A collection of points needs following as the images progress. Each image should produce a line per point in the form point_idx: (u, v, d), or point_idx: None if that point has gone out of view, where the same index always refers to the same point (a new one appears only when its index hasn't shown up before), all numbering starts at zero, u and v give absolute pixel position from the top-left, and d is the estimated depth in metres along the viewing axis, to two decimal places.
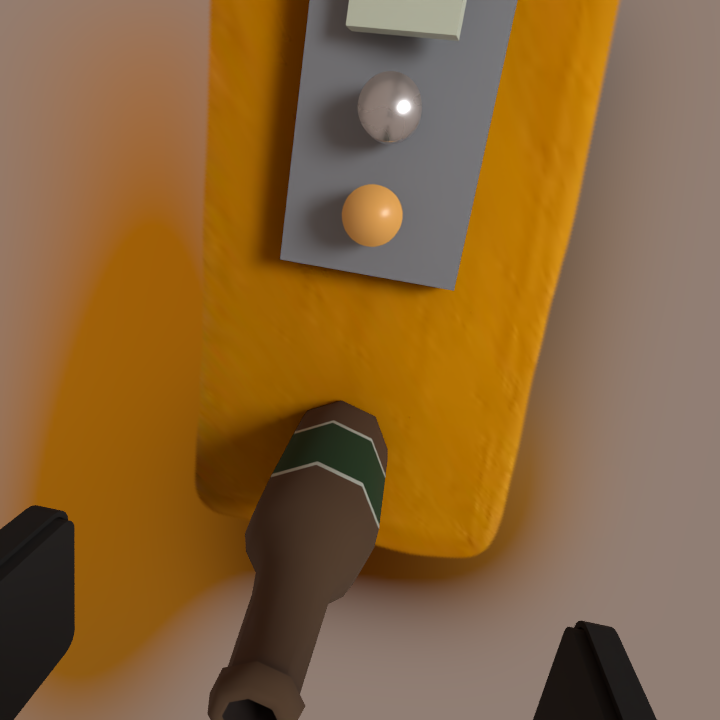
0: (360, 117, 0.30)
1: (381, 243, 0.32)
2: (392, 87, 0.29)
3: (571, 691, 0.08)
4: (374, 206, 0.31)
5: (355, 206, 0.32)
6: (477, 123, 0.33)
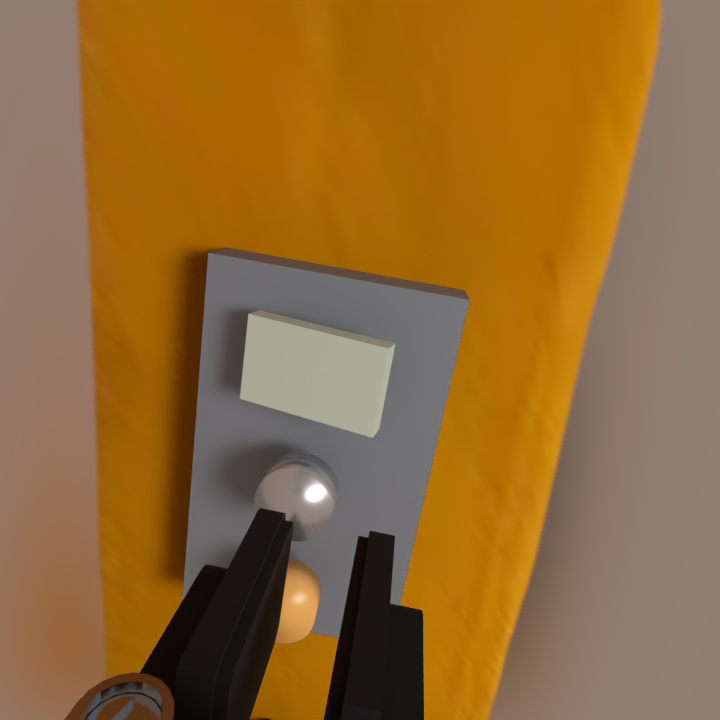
0: None
1: (291, 641, 0.26)
2: (295, 487, 0.23)
3: None
4: None
5: None
6: (411, 486, 0.26)
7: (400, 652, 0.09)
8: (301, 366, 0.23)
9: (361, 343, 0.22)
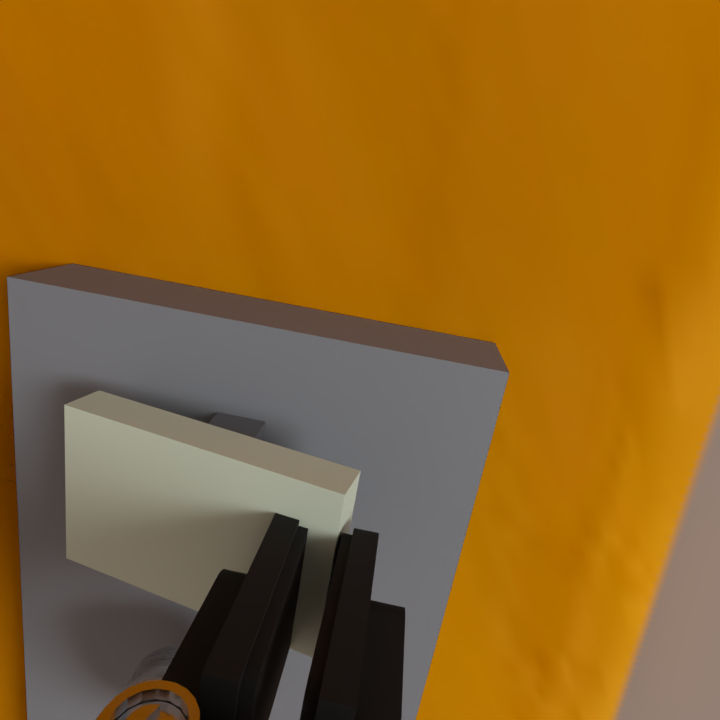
0: None
1: None
2: None
3: None
4: None
5: None
6: None
7: (381, 649, 0.09)
8: (171, 512, 0.11)
9: (286, 479, 0.10)
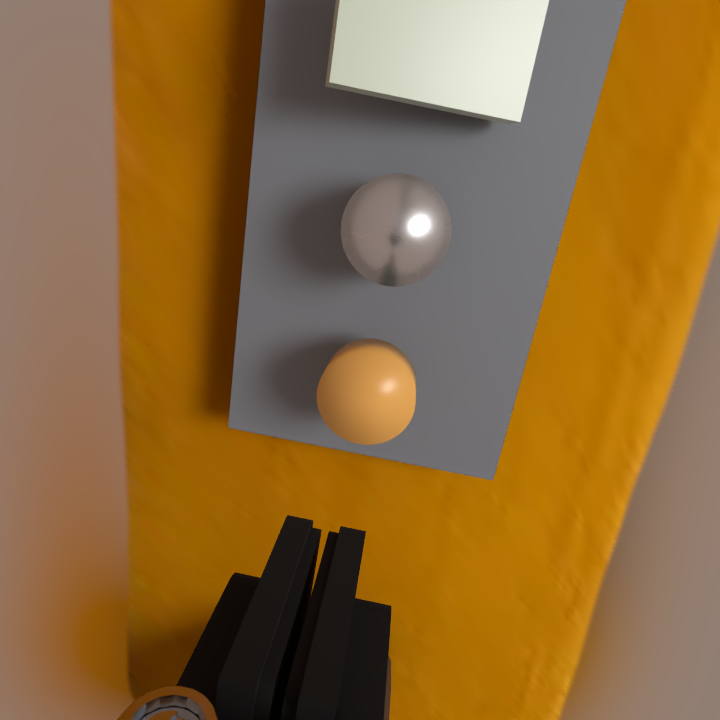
0: (346, 247, 0.18)
1: (381, 440, 0.20)
2: (400, 200, 0.17)
3: None
4: (370, 385, 0.19)
5: (338, 385, 0.19)
6: (538, 240, 0.20)
7: (365, 647, 0.09)
8: (430, 17, 0.16)
9: None
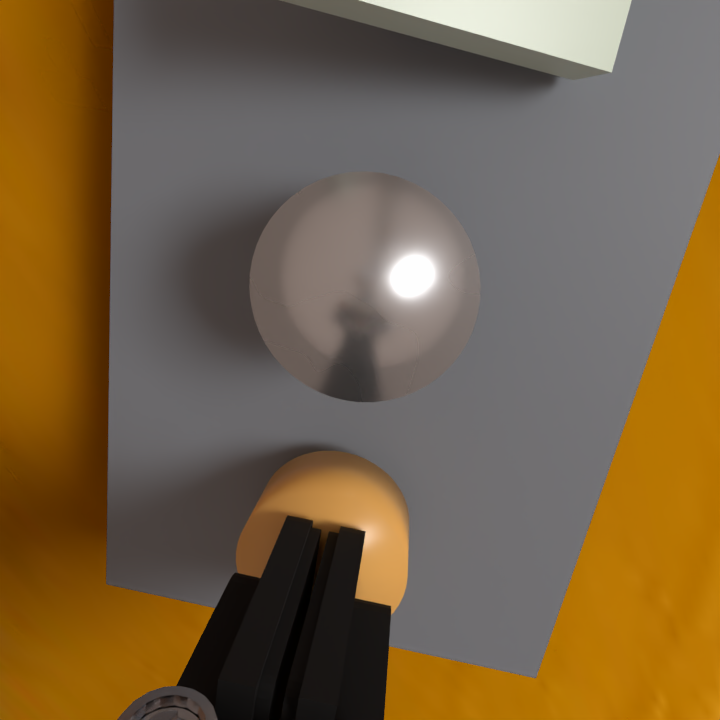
0: (262, 325, 0.09)
1: None
2: (372, 229, 0.08)
3: None
4: None
5: (272, 544, 0.11)
6: (629, 296, 0.11)
7: (365, 647, 0.09)
8: None
9: None
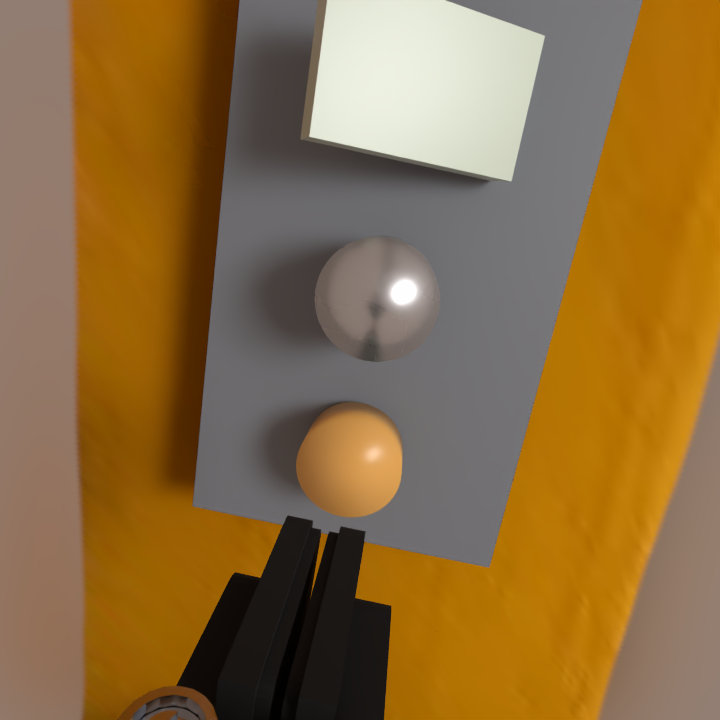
0: (320, 318, 0.15)
1: (365, 512, 0.18)
2: (382, 266, 0.15)
3: None
4: (353, 455, 0.18)
5: (319, 454, 0.18)
6: (536, 305, 0.18)
7: (365, 647, 0.09)
8: (420, 68, 0.14)
9: (510, 27, 0.15)
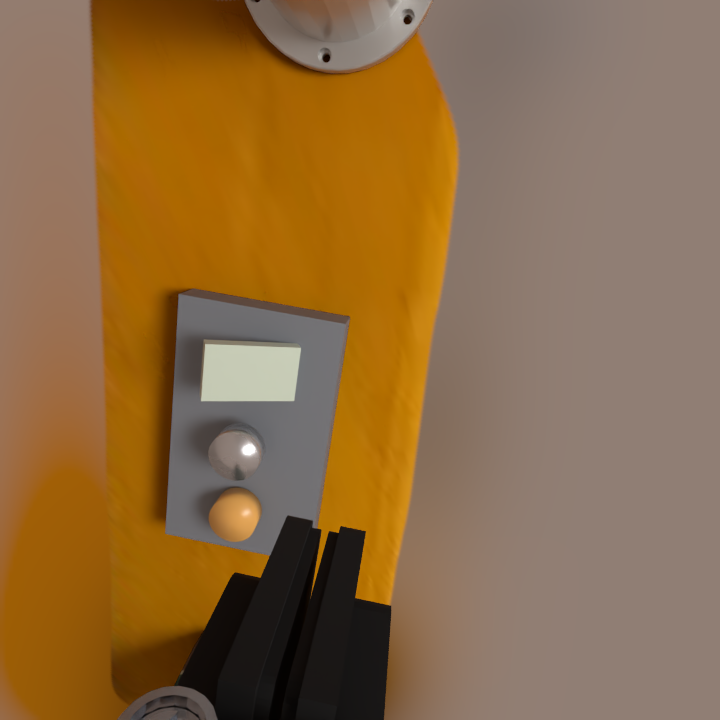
0: (211, 463, 0.37)
1: (241, 539, 0.40)
2: (234, 444, 0.37)
3: None
4: (233, 514, 0.40)
5: (218, 514, 0.40)
6: (316, 446, 0.40)
7: (365, 647, 0.09)
8: (245, 369, 0.36)
9: (284, 348, 0.36)
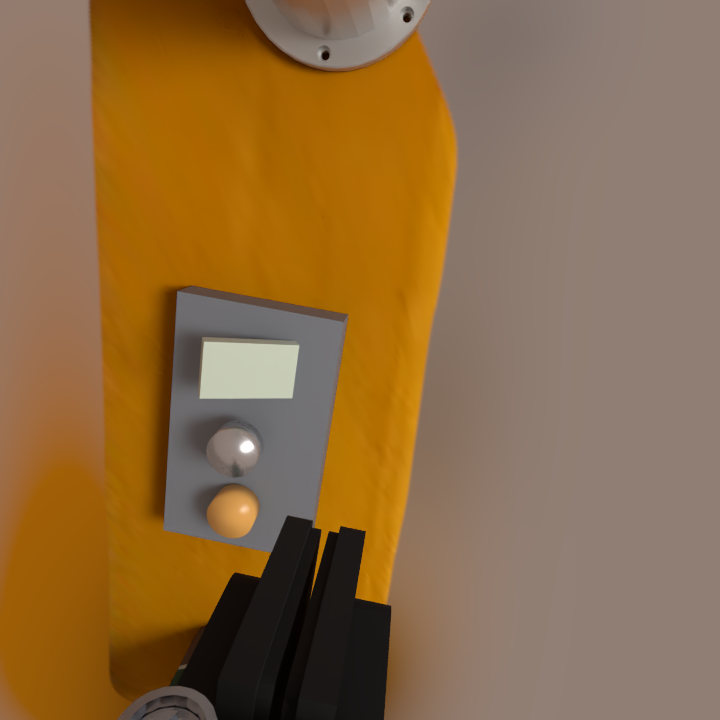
0: (209, 460, 0.37)
1: (238, 536, 0.40)
2: (232, 441, 0.37)
3: None
4: (231, 511, 0.40)
5: (216, 510, 0.40)
6: (314, 444, 0.40)
7: (365, 647, 0.09)
8: (244, 367, 0.36)
9: (282, 345, 0.36)
